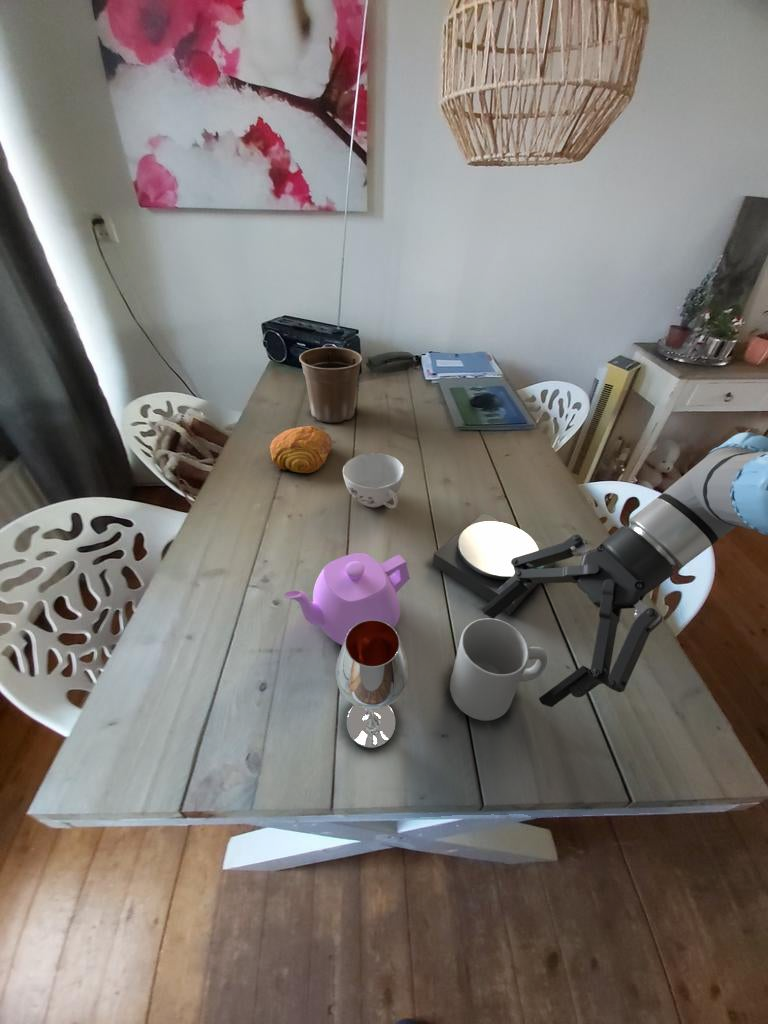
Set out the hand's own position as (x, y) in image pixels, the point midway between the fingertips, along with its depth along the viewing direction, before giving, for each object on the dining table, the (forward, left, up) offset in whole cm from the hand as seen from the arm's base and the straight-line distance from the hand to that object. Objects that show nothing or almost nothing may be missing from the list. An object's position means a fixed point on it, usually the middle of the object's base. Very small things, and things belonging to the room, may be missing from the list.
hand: (513, 654), depth 57 cm
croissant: (+67, -18, -8) cm, 69 cm away
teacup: (+42, -18, -8) cm, 46 cm away
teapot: (+24, +6, -8) cm, 26 cm away
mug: (+1, +1, -8) cm, 8 cm away
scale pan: (+14, -20, -4) cm, 24 cm away
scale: (+14, -20, -8) cm, 25 cm away
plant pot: (+79, -39, -8) cm, 88 cm away
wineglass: (+10, +16, -8) cm, 21 cm away
